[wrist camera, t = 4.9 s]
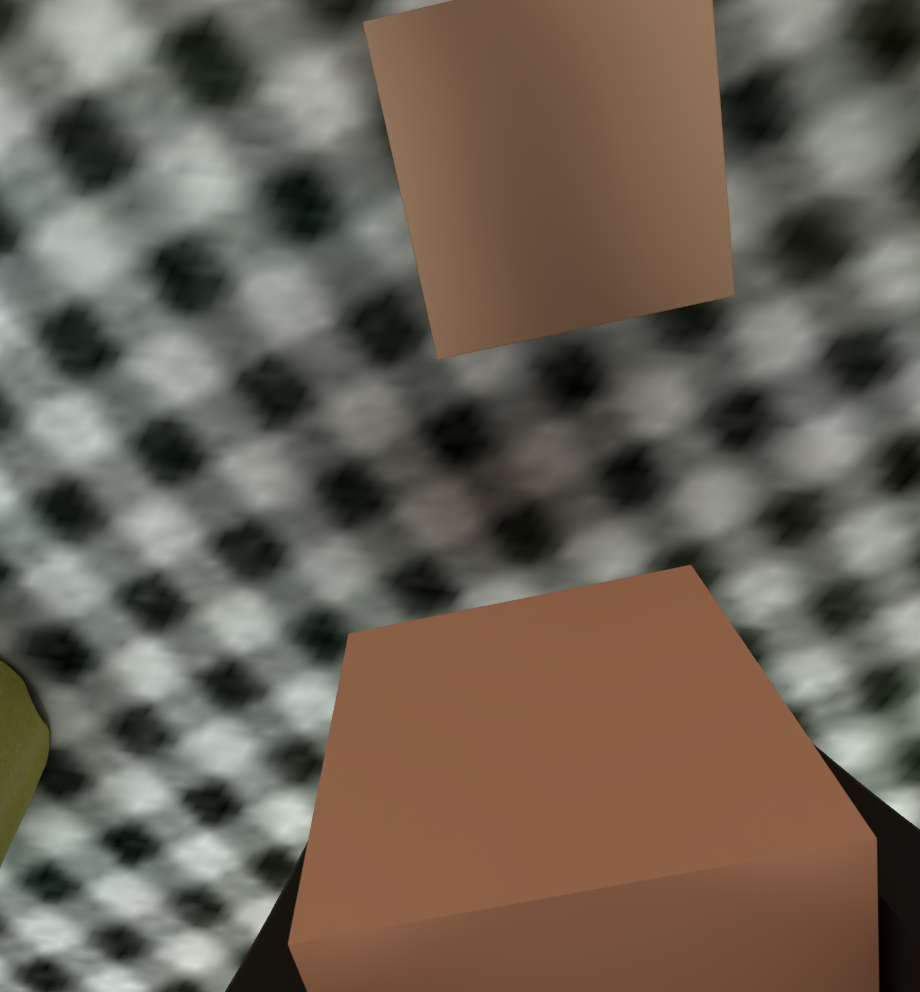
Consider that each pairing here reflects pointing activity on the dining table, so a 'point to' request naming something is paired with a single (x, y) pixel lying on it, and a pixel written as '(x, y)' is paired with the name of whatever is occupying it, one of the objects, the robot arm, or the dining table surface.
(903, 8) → the dining table surface
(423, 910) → the terracotta block
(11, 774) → the plant pot
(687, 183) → the walnut block
